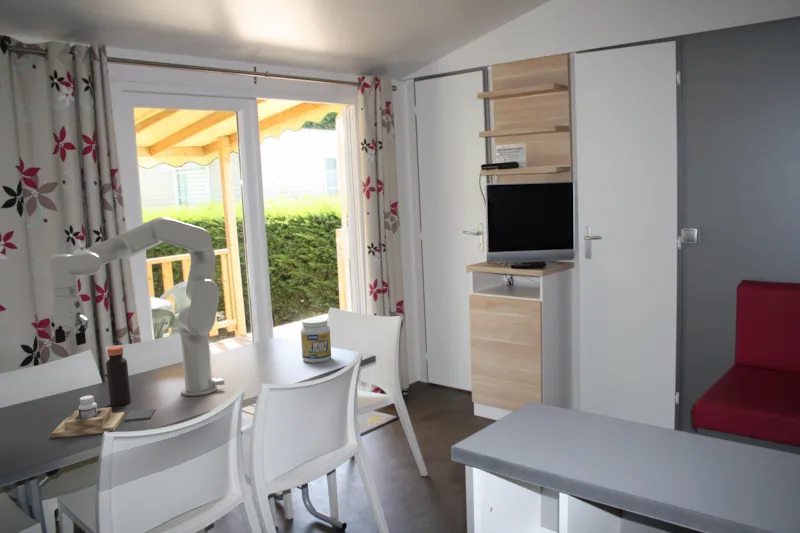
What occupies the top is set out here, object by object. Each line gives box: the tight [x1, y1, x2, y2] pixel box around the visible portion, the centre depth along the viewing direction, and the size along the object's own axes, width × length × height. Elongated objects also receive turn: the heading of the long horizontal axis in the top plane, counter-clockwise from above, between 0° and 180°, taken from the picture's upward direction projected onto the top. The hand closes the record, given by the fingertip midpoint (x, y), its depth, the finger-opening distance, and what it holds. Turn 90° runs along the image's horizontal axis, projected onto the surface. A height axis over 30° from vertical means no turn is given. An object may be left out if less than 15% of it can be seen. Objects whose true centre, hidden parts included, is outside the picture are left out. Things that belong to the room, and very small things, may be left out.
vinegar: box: [105, 345, 132, 407], centre depth 232 cm, size 7×7×20 cm
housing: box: [51, 406, 126, 439], centre depth 211 cm, size 18×14×4 cm
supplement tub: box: [300, 317, 332, 364], centre depth 278 cm, size 12×12×17 cm
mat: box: [123, 408, 156, 422], centre depth 219 cm, size 8×8×1 cm
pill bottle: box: [77, 395, 98, 419], centre depth 210 cm, size 5×5×10 cm
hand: (71, 343), depth 219 cm, fingers open, 9 cm apart
